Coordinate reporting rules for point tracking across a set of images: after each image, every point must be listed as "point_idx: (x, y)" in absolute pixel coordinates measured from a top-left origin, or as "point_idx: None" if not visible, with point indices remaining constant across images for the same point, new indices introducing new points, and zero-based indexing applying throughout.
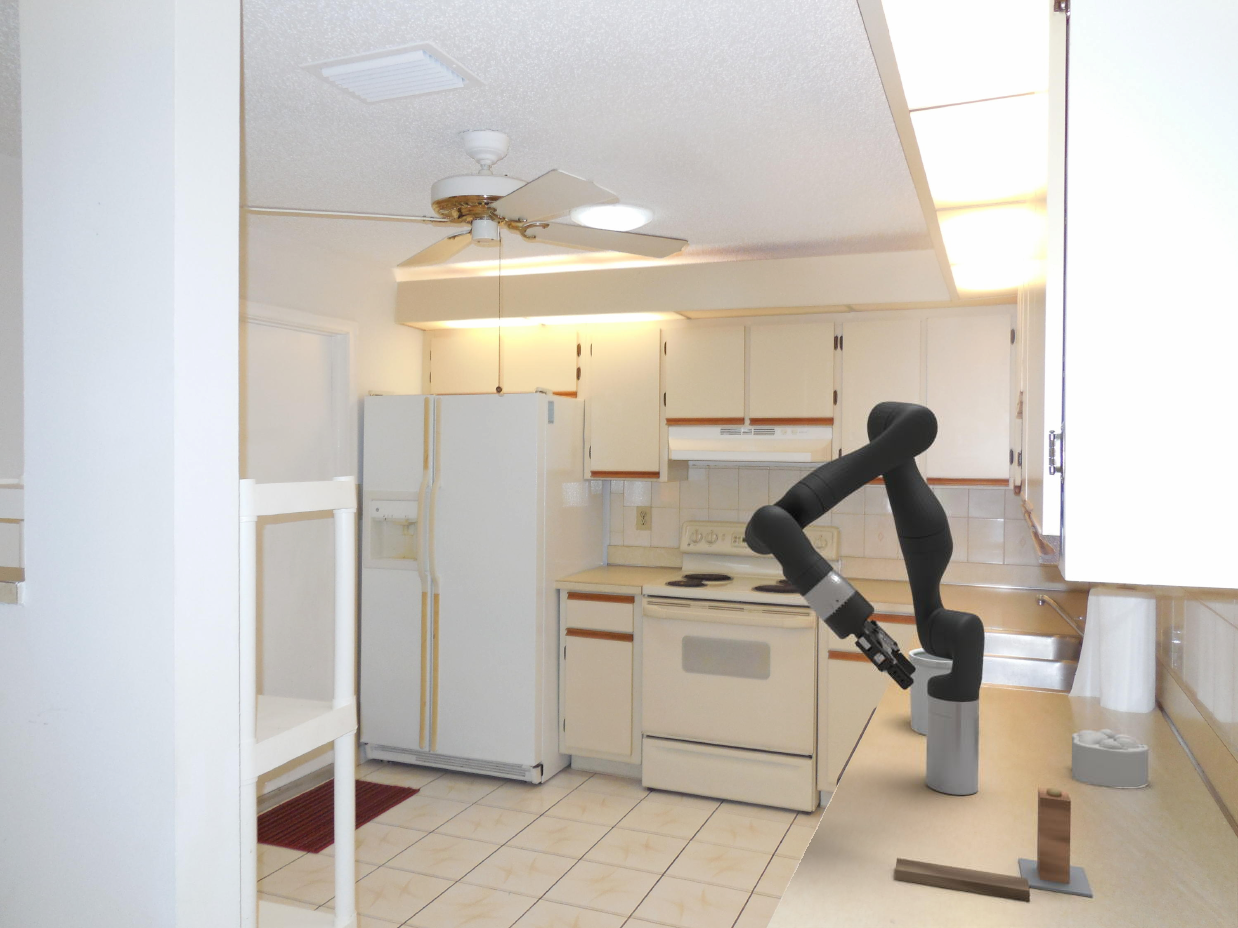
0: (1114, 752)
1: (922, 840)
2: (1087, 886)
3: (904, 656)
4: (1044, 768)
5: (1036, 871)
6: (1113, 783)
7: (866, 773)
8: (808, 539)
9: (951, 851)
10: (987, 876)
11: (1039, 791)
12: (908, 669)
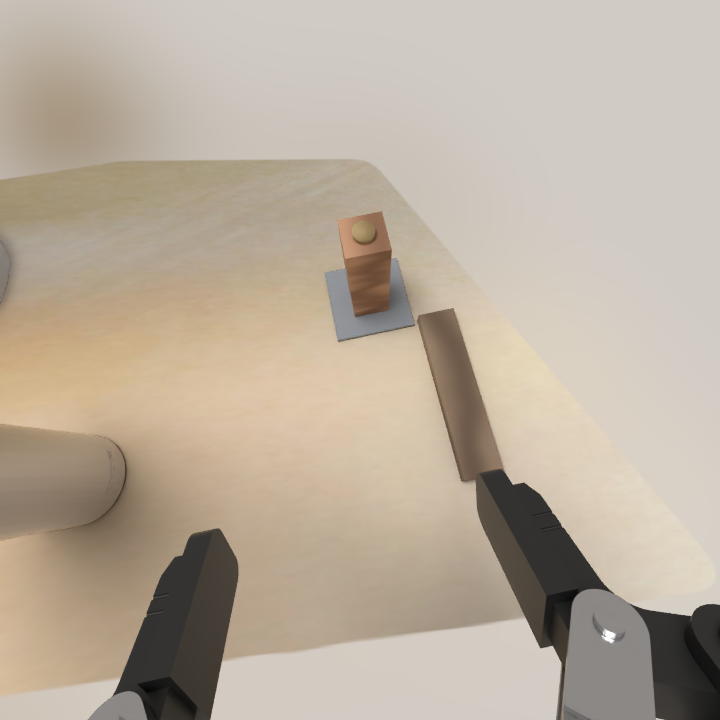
0: None
1: (341, 470)
2: None
3: (168, 629)
4: None
5: (368, 316)
6: (3, 267)
7: (64, 655)
8: None
9: (358, 423)
10: (444, 357)
11: (362, 255)
12: (221, 569)
